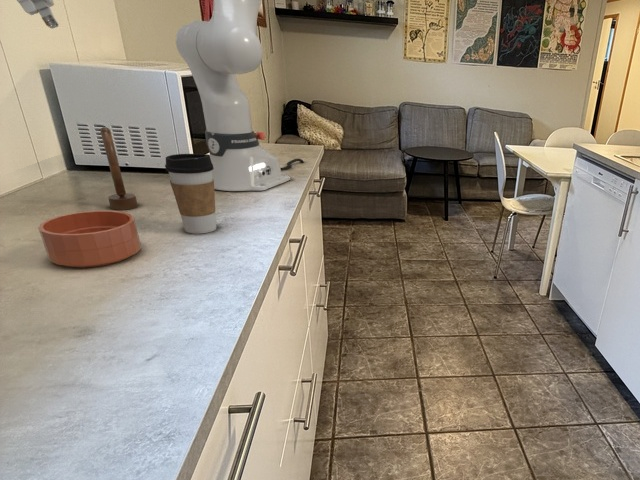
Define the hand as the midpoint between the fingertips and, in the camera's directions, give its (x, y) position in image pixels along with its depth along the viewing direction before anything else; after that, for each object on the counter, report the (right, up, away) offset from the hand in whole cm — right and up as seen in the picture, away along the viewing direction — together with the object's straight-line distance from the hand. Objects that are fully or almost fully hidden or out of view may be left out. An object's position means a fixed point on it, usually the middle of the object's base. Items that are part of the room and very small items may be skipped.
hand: (44, 20), depth 89 cm
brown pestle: (+3, -32, +18) cm, 37 cm away
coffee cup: (+25, -38, +9) cm, 47 cm away
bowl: (+15, -45, -6) cm, 48 cm away
